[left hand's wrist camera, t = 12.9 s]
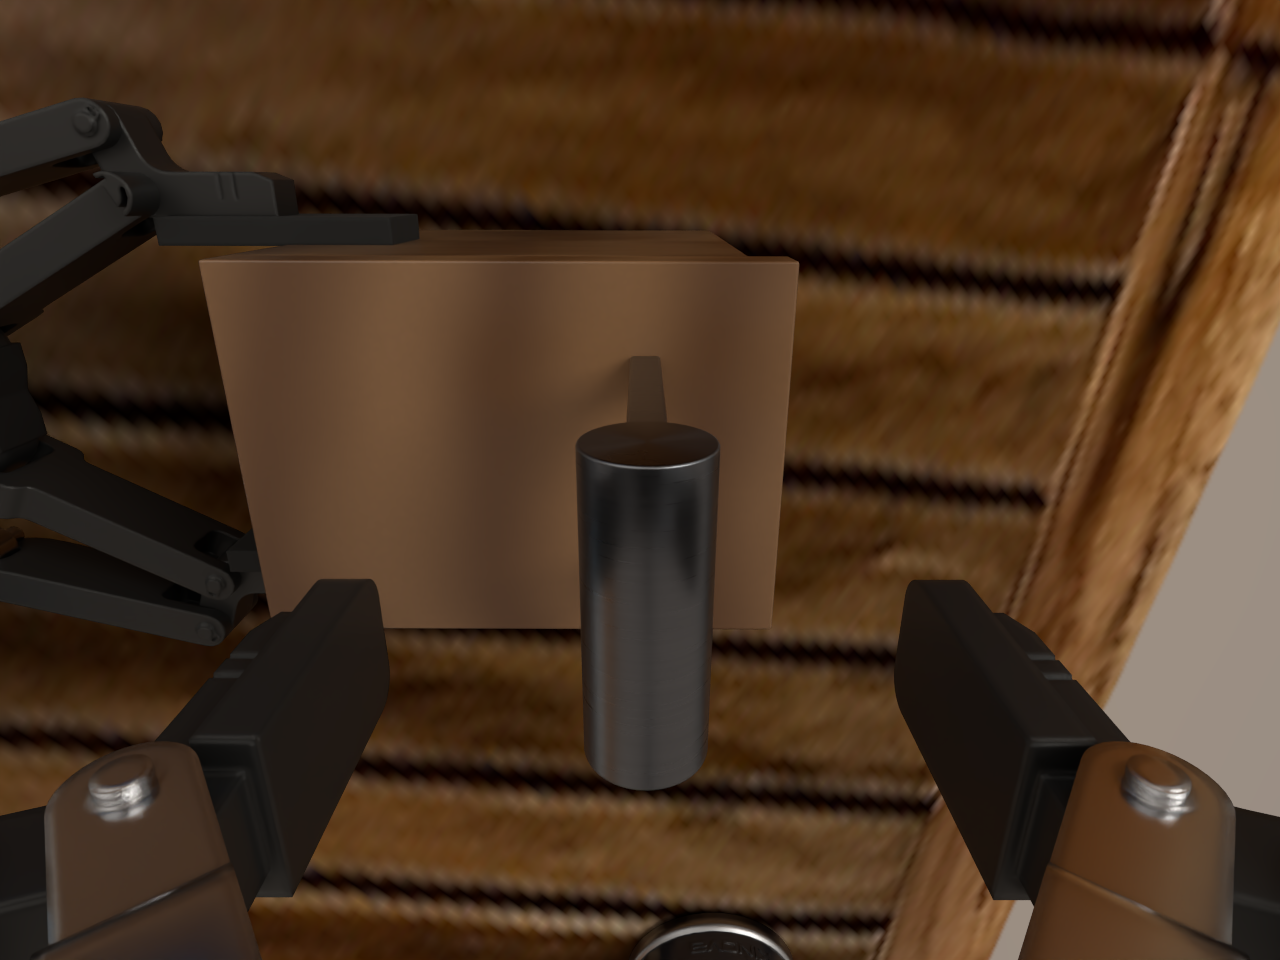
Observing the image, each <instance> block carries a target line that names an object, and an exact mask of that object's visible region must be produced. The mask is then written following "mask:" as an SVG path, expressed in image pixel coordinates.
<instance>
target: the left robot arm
mask: <svg viewBox="0 0 1280 960" xmlns="http://www.w3.org/2000/svg"><path fill="white" fill-rule="evenodd" d="M389 680H390V670H389V661H388V654H387V647H386V640H385V633H384V627H383V620H382V613H381V606H380V599H379V593H378V589H377V586H376V584H375V582H374V581H373V580H372V579H319V580H318V581H317V582H316V583H315V584H314V585H313V586H312V587H311V589H310V590H309V591H308V592H307V594H306V595H305V596H304V597H303V598H302V600H301V601H300V602H299V603H298V605H297V606H296V607H295V608H294V610H293V611H292V612H280V613H278V614H277V615H275V616H273V617H272V618H270V619H269V620H267V621H265V622H264V623H262V624H261V625H259V626H257V627H256V628H254V629H253V630H251V631H250V632H249V633H248V634H247V635H246V636H245V638H244V639H243V640H242V641H241V642H240V643H239V645H238V646H237V647H236V648H235V649H234V650H233V651H232V653H231V654H230V659H226V660H225V661H224V662H223V663H222V664H221V665H220V666H219V668H218V669H217V670H216V671H215V672H214V677H213V678H209V679H208V680H207V681H206V683H205V684H204V685H203V686H202V687H201V688H200V690H199V691H198V692H197V693H196V694H195V695H194V697H193V698H192V699H191V700H190V701H189V702H188V703H187V705H186V706H185V707H184V708H183V709H182V710H181V712H180V713H179V714H178V715H177V716H176V717H175V718H174V720H173V721H172V722H171V723H170V724H169V725H168V727H167V728H166V729H165V730H164V731H163V732H162V733H161V735H160V736H159V737H158V738H157V739H156V740H155V742H148V743H142V744H138V745H133V746H130V747H126V748H123V749H120V750H117V751H115V752H112V753H110V754H107V755H105V756H103V757H101V758H99V759H97V760H95V761H93V762H92V763H90V764H88V765H86V766H85V767H83V768H82V769H80V770H79V771H77V772H76V773H75V774H73V775H72V776H71V777H70V778H68V779H67V780H66V781H65V782H64V783H63V784H62V785H61V786H60V787H59V788H58V789H57V790H56V791H55V792H54V794H53V795H52V797H51V798H50V800H49V802H48V804H47V806H42V807H38V808H33V809H29V810H24V811H20V812H15V813H11V814H6V815H2V816H0V960H262V958H261V955H260V952H259V949H258V945H257V942H256V939H255V936H254V932H253V929H252V926H251V922H250V919H249V916H248V913H247V912H248V910H249V909H250V907H251V905H252V903H253V901H254V899H255V897H293V895H294V893H295V891H296V888H297V886H298V884H299V882H300V880H301V878H302V876H303V874H304V872H305V870H306V868H307V866H308V864H309V862H310V860H311V858H312V855H313V853H314V851H315V849H316V847H317V845H318V843H319V841H320V839H321V837H322V835H323V833H324V831H325V829H326V827H327V825H328V823H329V820H330V818H331V816H332V814H333V812H334V810H335V808H336V806H337V804H338V802H339V800H340V798H341V796H342V794H343V792H344V790H345V788H346V785H347V783H348V781H349V779H350V777H351V775H352V773H353V771H354V769H355V767H356V765H357V763H358V761H359V759H360V757H361V755H362V752H363V750H364V748H365V746H366V744H367V742H368V740H369V738H370V736H371V734H372V732H373V730H374V728H375V726H376V724H377V722H378V720H379V717H380V715H381V713H382V711H383V709H384V707H385V704H386V700H387V696H388V690H389ZM894 684H895V693H896V698H897V702H898V705H899V708H900V711H901V713H902V715H903V717H904V719H905V721H906V723H907V725H908V727H909V729H910V731H911V733H912V735H913V737H914V739H915V741H916V744H917V746H918V748H919V750H920V752H921V754H922V756H923V758H924V760H925V762H926V764H927V766H928V768H929V770H930V772H931V774H932V776H933V778H934V780H935V782H936V784H937V786H938V788H939V790H940V792H941V794H942V796H943V798H944V800H945V803H946V805H947V807H948V809H949V811H950V813H951V815H952V817H953V819H954V821H955V823H956V825H957V827H958V829H959V831H960V833H961V835H962V837H963V839H964V841H965V843H966V845H967V847H968V849H969V851H970V853H971V855H972V857H973V860H974V862H975V864H976V866H977V868H978V870H979V872H980V874H981V876H982V878H983V880H984V882H985V884H986V886H987V888H988V890H989V892H990V894H991V896H992V898H993V900H1031V902H1032V904H1033V906H1034V909H1033V913H1032V916H1031V919H1030V922H1029V926H1028V929H1027V932H1026V936H1025V939H1024V942H1023V945H1022V949H1021V952H1020V955H1019V958H1018V960H1280V817H1277V816H1273V815H1268V814H1264V813H1259V812H1255V811H1250V810H1246V809H1242V808H1238V807H1234V806H1233V804H1232V802H1231V800H1230V798H1229V797H1228V795H1227V794H1226V792H1225V791H1224V790H1223V789H1222V788H1221V787H1220V786H1219V785H1218V784H1217V783H1216V782H1215V781H1214V780H1213V779H1212V778H1210V777H1209V776H1208V775H1207V774H1205V773H1204V772H1203V771H1201V770H1200V769H1198V768H1197V767H1195V766H1194V765H1192V764H1190V763H1188V762H1187V761H1185V760H1183V759H1181V758H1179V757H1177V756H1175V755H1173V754H1170V753H1168V752H1165V751H1163V750H1160V749H1157V748H1154V747H1150V746H1147V745H1142V744H1138V743H1132V742H1130V741H1129V740H1128V739H1127V738H1126V737H1125V735H1124V734H1123V733H1122V732H1121V731H1120V730H1119V729H1118V727H1117V726H1116V725H1115V724H1114V723H1113V722H1112V720H1111V719H1110V718H1109V717H1108V716H1107V715H1106V714H1105V712H1104V711H1103V710H1102V709H1101V708H1100V707H1099V706H1098V704H1097V703H1096V702H1095V701H1094V700H1093V699H1092V698H1091V696H1090V695H1089V694H1088V693H1087V692H1086V691H1085V690H1084V688H1083V687H1082V686H1081V685H1080V684H1079V683H1078V682H1077V680H1072V675H1071V674H1070V672H1069V671H1068V670H1067V669H1066V668H1065V667H1064V666H1063V664H1062V663H1061V662H1060V661H1059V660H1055V655H1054V654H1053V653H1052V652H1051V651H1050V650H1049V648H1048V647H1047V646H1046V645H1045V644H1044V643H1043V642H1042V640H1041V639H1040V638H1039V637H1038V636H1037V635H1036V633H1035V632H1033V631H1031V630H1030V629H1028V628H1027V627H1025V626H1023V625H1022V624H1020V623H1019V622H1017V621H1015V620H1014V619H1012V618H1011V617H1009V616H1007V615H1006V614H1004V613H992V611H991V610H990V609H989V608H988V606H987V605H986V604H985V603H984V601H983V600H982V599H981V598H980V597H979V595H978V594H977V593H976V592H975V590H974V589H973V588H972V587H971V586H970V584H969V583H968V582H966V581H965V580H913V581H911V582H910V584H909V585H908V587H907V590H906V594H905V600H904V607H903V614H902V621H901V627H900V634H899V641H898V647H897V654H896V661H895V669H894ZM629 960H793V959H792V955H791V953H790V950H789V949H788V947H787V945H786V944H785V943H784V941H783V940H782V939H781V938H780V937H779V936H778V935H777V934H776V933H775V932H774V931H772V930H771V929H769V928H768V927H766V926H764V925H763V924H761V923H759V922H756V921H754V920H752V919H749V918H746V917H742V916H738V915H733V914H726V913H700V914H692V915H687V916H683V917H679V918H676V919H673V920H671V921H668V922H666V923H664V924H662V925H660V926H658V927H656V928H655V929H653V930H652V931H650V932H649V933H648V934H647V935H645V936H644V937H643V938H642V939H641V940H640V941H639V943H638V944H637V945H636V946H635V948H634V949H633V951H632V953H631V955H630V957H629Z"/></svg>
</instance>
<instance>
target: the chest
mask: <svg viewBox="0 0 1280 960" xmlns="http://www.w3.org/2000/svg"><path fill="white" fill-rule="evenodd" d="M419 237H420V239H417V240H413V241H409V242H404V243H400V244H396V245H284V246H278V247H272V248H266V249H260V250H254V251H249V252H243V253H237V254H231V255H374V256H732V257H748V256H746V255H745V254H743V253H742V252H740V251H739V250H737V249H736V248H734V247H733V246H731V245H730V244H728V243H727V242H725V241H724V240H722V239H721V238H719V237H718V236H716V235H715V234H713V233H712V232H709V231H655V230H419Z"/></svg>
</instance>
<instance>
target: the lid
mask: <svg viewBox="0 0 1280 960" xmlns="http://www.w3.org/2000/svg"><path fill="white" fill-rule="evenodd" d="M199 267H200V272H201V276H202V281H203V286H204V291H205V296H206V301H207V306H208V311H209V316H210V321H211V326H212V331H213V336H214V341H215V346H216V350H217V355H218V360H219V365H220V370H221V375H222V380H223V385H224V390H225V395H226V400H227V405H228V410H229V415H230V419H231V424H232V429H233V434H234V439H235V444H236V449H237V454H238V459H239V464H240V469H241V474H242V479H243V484H244V489H245V493H246V498H247V503H248V508H249V513H250V518H251V523H252V528H253V533H254V538H255V543H256V548H257V553H258V558H259V562H260V567H261V572H262V577H263V582H264V587H265V592H266V597H267V602H268V607H269V612H270V617H271V618H272V617H273V616H275V615H277V614H278V613H280V612H292V611H293V610H294V608H295V607H296V606H297V605H298V603H299V602H300V601H301V600H302V598H303V597H304V596H305V595H306V594H307V592H308V591H309V590H310V589H311V587H312V586H313V585H314V584H315V583H316V582H317V581H318V580H319V579H372V580H373V581H374V582H375V584H376V586H377V589H378V593H379V599H380V606H381V613H382V620H383V627H384V628H514V629H581V651H582V684H583V717H584V749H585V755H586V757H587V760H588V762H589V763H590V765H591V767H592V768H593V769H594V770H595V771H596V772H597V773H598V774H599V775H600V776H601V777H603V778H604V779H606V780H607V781H609V782H611V783H613V784H615V785H618V786H621V787H624V788H628V789H634V790H645V791H647V790H659V789H665V788H669V787H672V786H675V785H678V784H680V783H682V782H684V781H686V780H687V779H689V778H690V777H691V776H693V775H694V774H695V773H696V772H697V771H698V770H699V768H700V767H701V765H702V764H703V762H704V760H705V757H706V754H707V746H708V723H709V700H710V677H711V654H712V631H713V629H771V626H772V613H773V600H774V587H775V573H776V560H777V547H778V534H779V521H780V508H781V495H782V482H783V469H784V456H785V443H786V430H787V417H788V404H789V391H790V378H791V365H792V352H793V339H794V326H795V312H796V299H797V286H798V273H799V262H797V261H795V260H793V259H791V258H789V257H732V256H374V255H225V256H219V257H213V258H207V259H201V260H199Z"/></svg>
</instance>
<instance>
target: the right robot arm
mask: <svg viewBox="0 0 1280 960" xmlns="http://www.w3.org/2000/svg"><path fill="white" fill-rule="evenodd" d="M162 136H163V131H162V127H161V123H160V122H159V120H158V119H157V117H156V116H155V115H154V114H153V113H152V112H150V111H149V110H148V109H145V108H142V107H139V106H132V105H126V104H120V103H113V102H107V101H101V100H94V99H88V98H74V99H71V100H68V101H64V102H61V103H58V104H55V105H52V106H48V107H45V108H42V109H39V110H36V111H32V112H29V113H26V114H23V115H20V116H16V117H13V118H10V119H7V120H4V121H0V196H3V195H7V194H10V193H13V192H16V191H20V190H23V189H26V188H30V187H33V186H36V185H40V184H43V183H46V182H50V181H53V180H56V179H60V178H63V177H66V176H70V175H73V174H76V173H79V172H83V171H86V170H89V169H93V168H96V167H99V166H100V168H101V170H102V171H99V172H96V173H94V174H93V175H94V176H95V178H105V179H104V180H102V181H101V182H99V183H98V184H96V185H95V186H93V187H92V188H90V189H89V190H87V191H86V192H84V193H83V194H82V195H80V196H79V197H77V198H76V199H74V200H73V201H71V202H70V203H68V204H67V205H65V206H64V207H62V208H61V209H59V210H58V211H56V212H55V213H53V214H52V215H50V216H49V217H47V218H46V219H44V220H43V221H41V222H40V223H39V224H37V225H36V226H34V227H33V228H31V229H30V230H28V231H27V232H25V233H24V234H22V235H21V236H19V237H18V238H16V239H15V240H13V241H12V242H10V243H9V244H7V245H6V246H4V247H3V248H1V249H0V518H3V519H11V518H24V519H27V520H30V521H32V522H34V523H37V524H39V525H41V526H44V527H46V528H48V529H51V530H53V531H55V532H58V533H60V534H62V535H65V536H67V537H69V538H72V539H74V540H76V541H79V542H81V543H83V544H85V545H88V546H90V547H87V546H83V545H78V544H74V543H69V542H65V541H60V540H54V539H47V538H24V533H23V531H22V530H21V529H20V528H18V527H15V526H14V527H9V528H8V529H6V530H5V529H2V528H0V601H2V602H7V603H11V604H16V605H20V606H25V607H30V608H34V609H39V610H44V611H48V612H53V613H57V614H62V615H67V616H71V617H76V618H81V619H85V620H90V621H94V622H99V623H104V624H108V625H113V626H117V627H122V628H127V629H131V630H136V631H141V632H145V633H150V634H154V635H159V636H164V637H168V638H173V639H178V640H182V641H187V642H191V643H196V644H201V645H205V646H214V645H218V644H220V643H221V642H222V641H223V640H224V639H225V638H226V637H227V635H228V634H229V633H230V632H231V631H232V630H233V629H234V628H235V627H236V626H237V625H238V624H239V622H240V621H241V620H242V619H243V618H244V617H245V616H246V615H247V614H248V613H249V612H250V611H251V609H252V608H253V607H254V606H255V605H256V604H257V601H258V594H257V593H266V592H265V587H264V582H263V577H262V572H261V567H260V562H259V558H258V553H257V548H256V543H255V538H254V533H253V528H252V529H251V530H250V531H249V532H247V533H246V534H245V533H243V532H241V531H238V530H236V529H234V528H232V527H229V526H227V525H225V524H223V523H221V522H218V521H216V520H214V519H212V518H209V517H207V516H205V515H203V514H200V513H198V512H196V511H194V510H192V509H189V508H187V507H185V506H183V505H180V504H178V503H176V502H174V501H172V500H169V499H167V498H165V497H163V496H160V495H158V494H156V493H154V492H151V491H149V490H147V489H145V488H143V487H140V486H138V485H136V484H134V483H131V482H129V481H127V480H125V479H123V478H120V477H118V476H116V475H114V474H111V473H109V472H107V471H105V470H102V469H100V468H98V467H96V466H94V465H91V464H89V463H87V462H86V461H85V460H84V454H83V453H82V452H81V451H80V450H78V449H76V448H74V447H72V446H70V445H68V444H65V443H63V442H61V441H59V440H56V439H54V438H52V437H50V436H48V435H47V431H46V428H45V424H44V421H43V418H42V414H41V412H40V410H39V408H38V406H37V405H36V403H35V401H34V399H33V398H32V396H31V394H30V392H29V391H28V380H27V364H26V360H25V357H24V354H23V350H22V347H21V343H11V342H10V340H9V339H8V337H7V336H8V335H10V334H11V333H13V332H14V331H16V330H18V329H19V328H21V327H22V326H24V325H25V324H27V323H28V322H30V321H32V320H33V319H35V318H36V317H38V316H39V315H41V314H42V313H43V312H44V311H43V308H44V307H45V306H47V305H49V304H50V303H52V302H53V301H55V300H56V299H58V298H59V297H61V296H62V295H64V294H66V293H67V292H69V291H70V290H72V289H73V288H75V287H76V286H78V285H79V284H81V283H83V282H84V281H86V280H87V279H89V278H90V277H92V276H93V275H95V274H96V273H98V272H100V271H101V270H103V269H104V268H106V267H107V266H109V265H110V264H112V263H113V262H115V261H117V260H118V259H120V258H121V257H123V256H124V255H126V254H127V253H129V252H130V251H132V250H134V249H135V248H137V247H138V246H140V245H141V244H143V243H144V242H146V241H147V240H149V239H151V238H152V237H154V236H155V235H157V238H158V243H159V246H284V245H396V244H400V243H404V242H409V241H413V240H417V239H420V237H419V227H418V217H417V214H299V212H298V206H297V199H296V193H295V186H294V180H292V179H289V178H287V177H285V176H282V175H280V174H277V173H267V172H189V171H187V170H184V169H182V168H181V167H179V166H178V165H176V164H175V163H174V162H173V161H172V160H171V158H170V157H169V155H168V154H167V152H166V150H165V148H164V146H163V145H162V143H161V141H162Z"/></svg>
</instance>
